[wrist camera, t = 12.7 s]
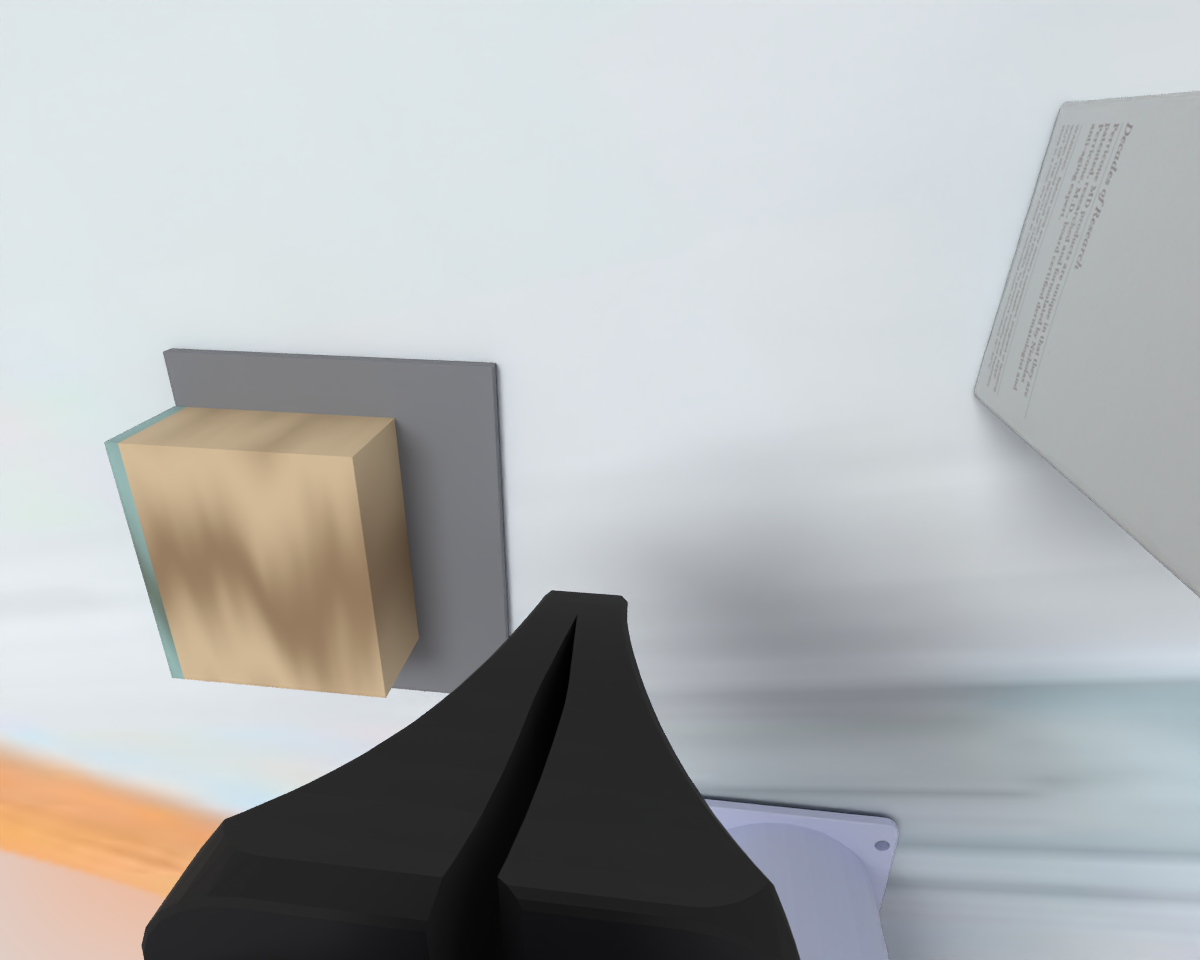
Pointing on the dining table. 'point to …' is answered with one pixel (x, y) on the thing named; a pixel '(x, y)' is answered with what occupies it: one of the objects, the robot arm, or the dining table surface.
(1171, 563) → the supplement box
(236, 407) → the mat
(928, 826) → the dining table surface
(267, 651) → the slab
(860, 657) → the dining table surface
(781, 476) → the dining table surface
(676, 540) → the dining table surface
